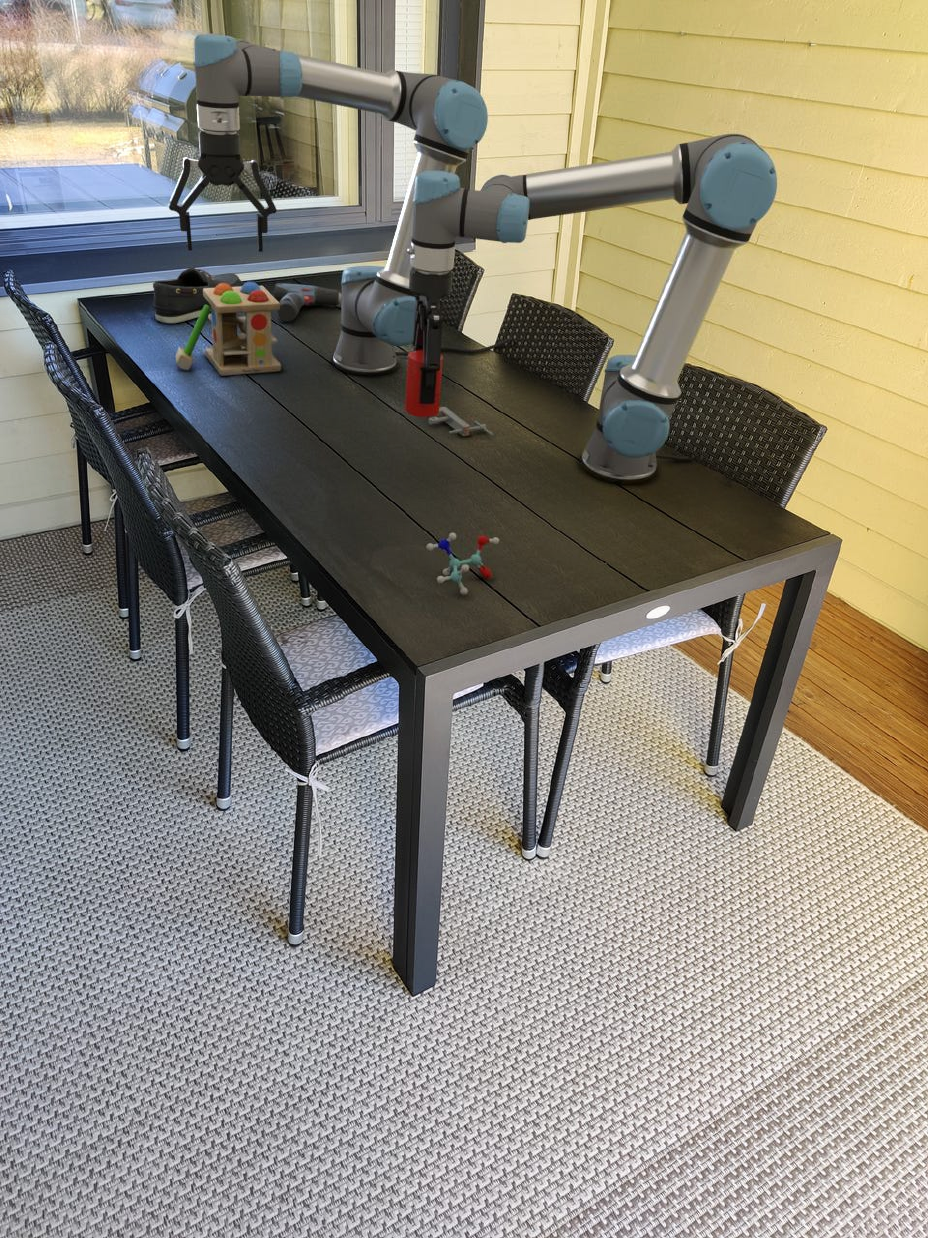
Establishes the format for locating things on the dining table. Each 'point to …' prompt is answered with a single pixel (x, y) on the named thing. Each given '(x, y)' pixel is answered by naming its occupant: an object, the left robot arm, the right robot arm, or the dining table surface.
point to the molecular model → (455, 563)
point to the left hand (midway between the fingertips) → (225, 249)
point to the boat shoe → (186, 294)
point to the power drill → (302, 298)
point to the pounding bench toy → (229, 347)
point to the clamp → (456, 422)
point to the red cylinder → (414, 387)
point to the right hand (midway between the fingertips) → (423, 395)
